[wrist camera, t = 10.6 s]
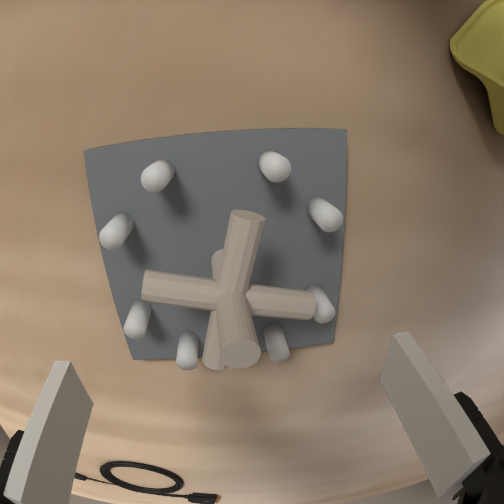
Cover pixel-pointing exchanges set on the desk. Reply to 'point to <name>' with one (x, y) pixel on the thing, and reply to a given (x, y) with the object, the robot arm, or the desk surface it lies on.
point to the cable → (203, 499)
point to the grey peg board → (221, 227)
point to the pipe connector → (230, 296)
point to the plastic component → (484, 53)
